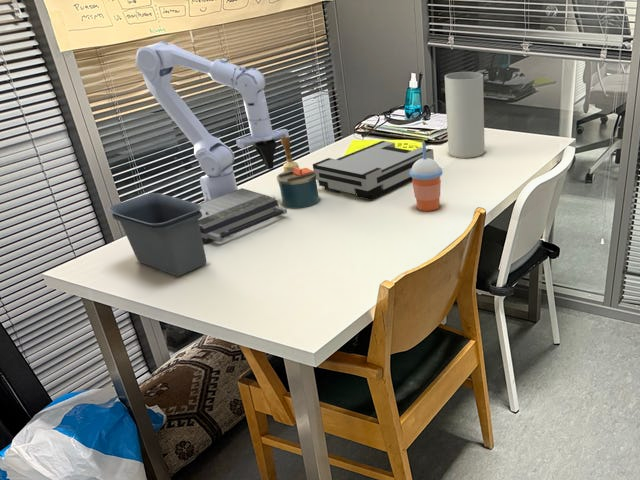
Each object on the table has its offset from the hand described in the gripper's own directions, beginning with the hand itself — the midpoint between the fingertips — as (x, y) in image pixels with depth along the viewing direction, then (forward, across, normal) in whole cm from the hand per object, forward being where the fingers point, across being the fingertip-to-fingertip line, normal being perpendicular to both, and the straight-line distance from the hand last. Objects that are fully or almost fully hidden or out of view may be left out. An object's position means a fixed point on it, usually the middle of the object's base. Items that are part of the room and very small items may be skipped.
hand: (269, 168), depth 185 cm
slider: (+3, +8, -4) cm, 9 cm away
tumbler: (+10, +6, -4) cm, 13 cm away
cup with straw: (+11, +30, -34) cm, 46 cm away
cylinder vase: (+11, +70, -3) cm, 71 cm away
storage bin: (+10, -36, -19) cm, 42 cm away
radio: (+10, -16, -5) cm, 20 cm away
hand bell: (+11, +13, +14) cm, 22 cm away
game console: (+11, +32, -5) cm, 34 cm away
